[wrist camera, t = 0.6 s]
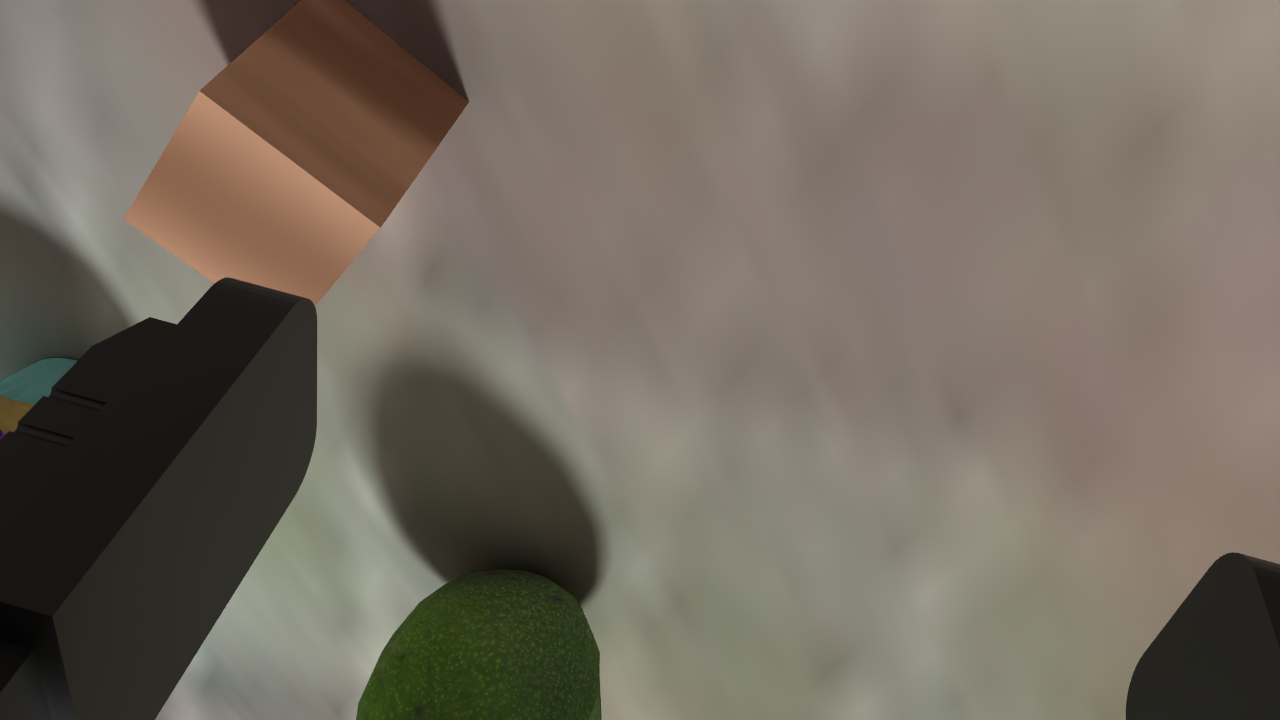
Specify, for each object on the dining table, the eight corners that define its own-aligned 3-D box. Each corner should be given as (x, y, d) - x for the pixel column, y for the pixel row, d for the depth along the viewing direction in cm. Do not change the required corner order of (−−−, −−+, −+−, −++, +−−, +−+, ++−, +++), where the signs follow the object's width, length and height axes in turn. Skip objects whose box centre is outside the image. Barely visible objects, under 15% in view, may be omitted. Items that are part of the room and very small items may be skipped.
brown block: (322, -20, 27) (199, 91, 23) (469, 101, 29) (380, 227, 24) (246, 99, 30) (123, 219, 26) (384, 205, 31) (289, 336, 27)
